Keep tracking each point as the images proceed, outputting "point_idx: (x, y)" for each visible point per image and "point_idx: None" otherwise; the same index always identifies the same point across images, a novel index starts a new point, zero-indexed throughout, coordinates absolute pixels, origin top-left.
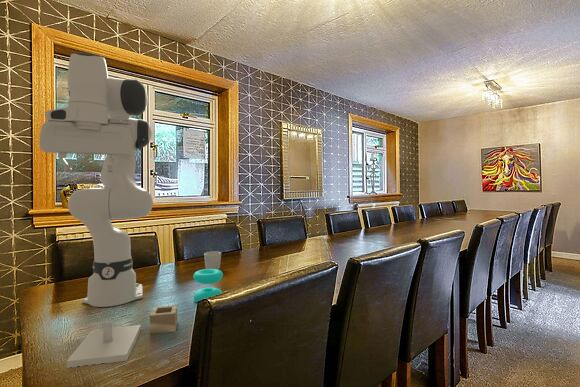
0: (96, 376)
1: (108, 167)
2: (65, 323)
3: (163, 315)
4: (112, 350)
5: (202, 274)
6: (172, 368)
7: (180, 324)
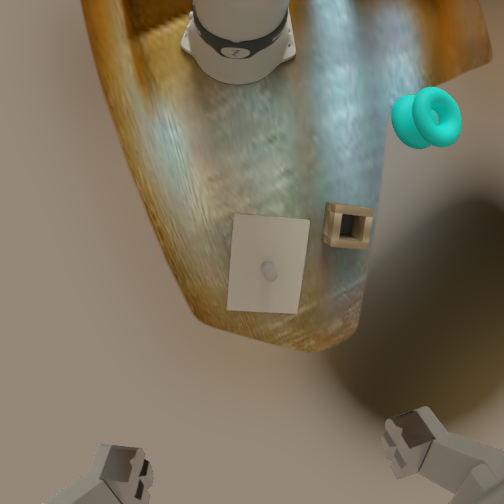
0: (266, 333)
1: (396, 466)
2: (176, 144)
3: (350, 247)
4: (278, 298)
5: (433, 133)
6: (343, 338)
7: None
